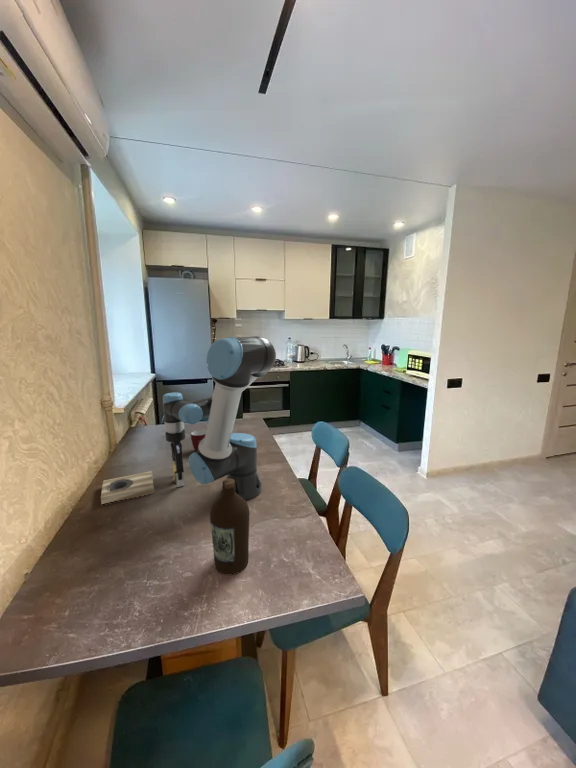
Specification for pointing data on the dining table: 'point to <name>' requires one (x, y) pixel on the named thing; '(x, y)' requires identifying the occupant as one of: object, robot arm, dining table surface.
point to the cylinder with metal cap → (174, 472)
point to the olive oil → (230, 530)
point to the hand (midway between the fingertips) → (178, 480)
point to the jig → (127, 487)
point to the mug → (197, 438)
